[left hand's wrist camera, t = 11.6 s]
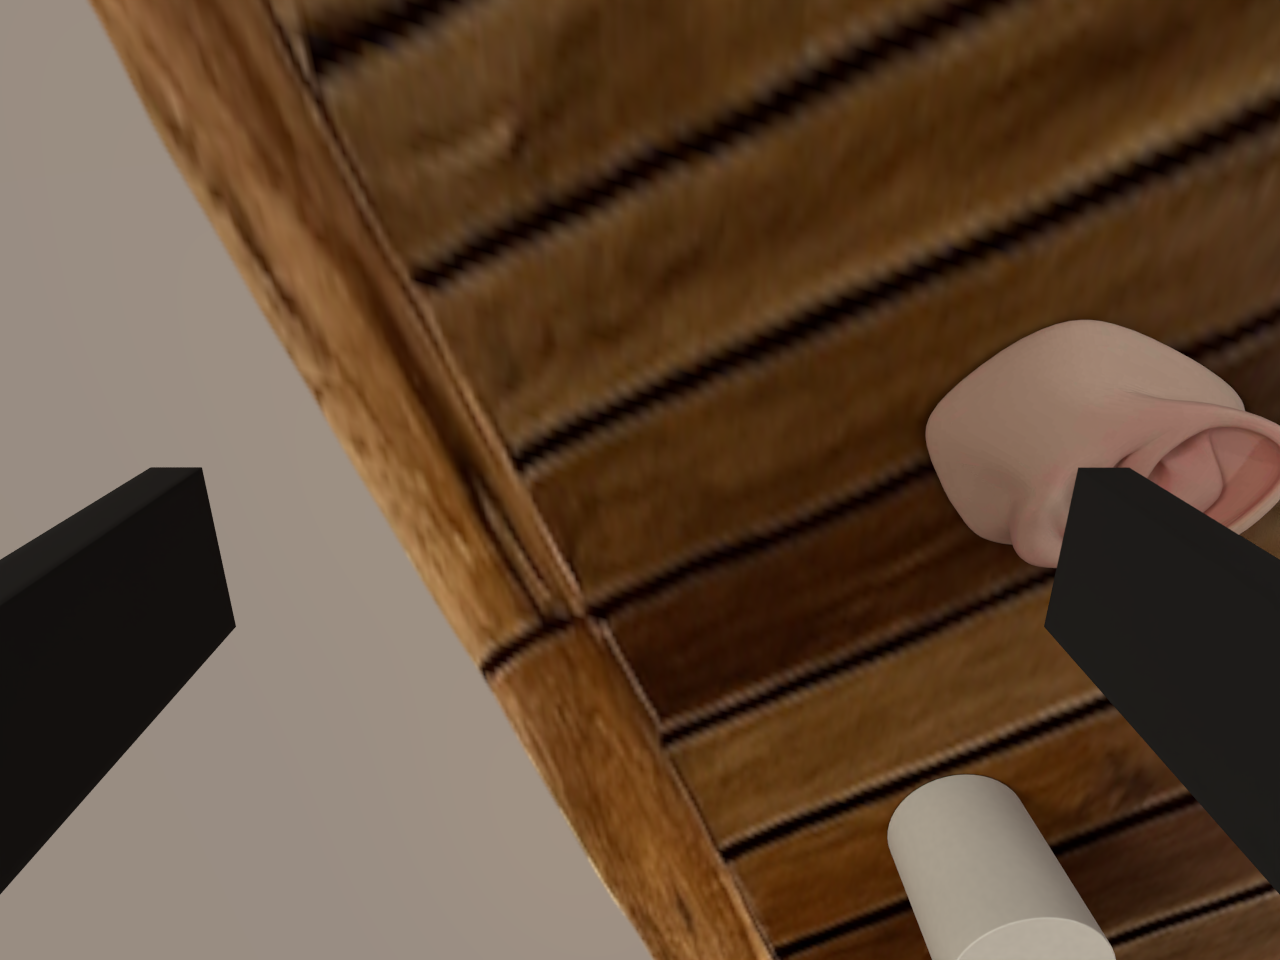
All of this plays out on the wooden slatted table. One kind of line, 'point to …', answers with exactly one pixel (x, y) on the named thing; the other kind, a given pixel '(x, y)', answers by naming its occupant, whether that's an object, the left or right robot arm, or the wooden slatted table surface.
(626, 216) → the wooden slatted table surface
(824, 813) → the wooden slatted table surface
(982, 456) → the anatomical model
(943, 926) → the can
